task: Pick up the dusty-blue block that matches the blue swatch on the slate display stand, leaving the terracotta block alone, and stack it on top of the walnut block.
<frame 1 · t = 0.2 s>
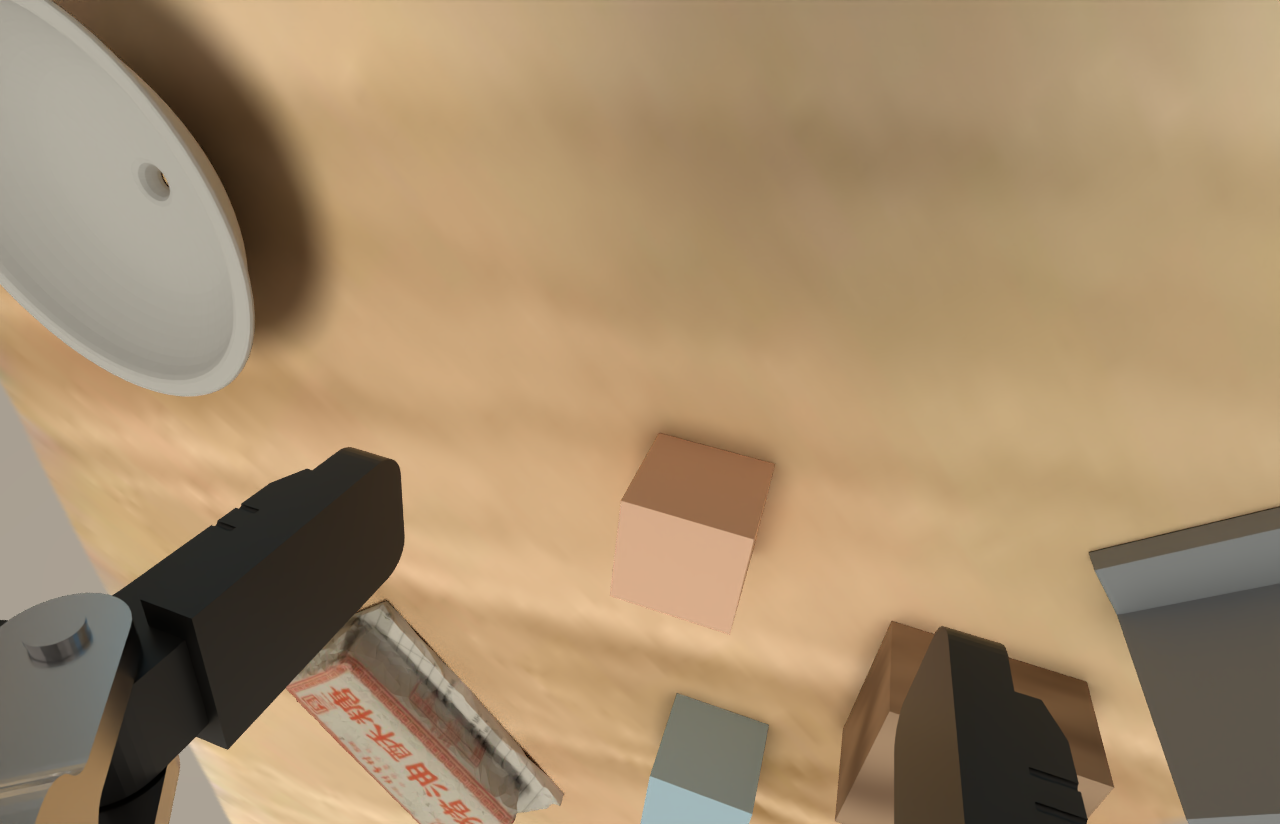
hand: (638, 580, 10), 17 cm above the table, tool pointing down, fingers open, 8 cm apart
terracotta block: (707, 493, 31), on the table
dish: (177, 176, 32), on the table
walnut block: (953, 704, 33), on the table
packaged product: (437, 707, 47), on the table
blue block: (715, 735, 39), on the table
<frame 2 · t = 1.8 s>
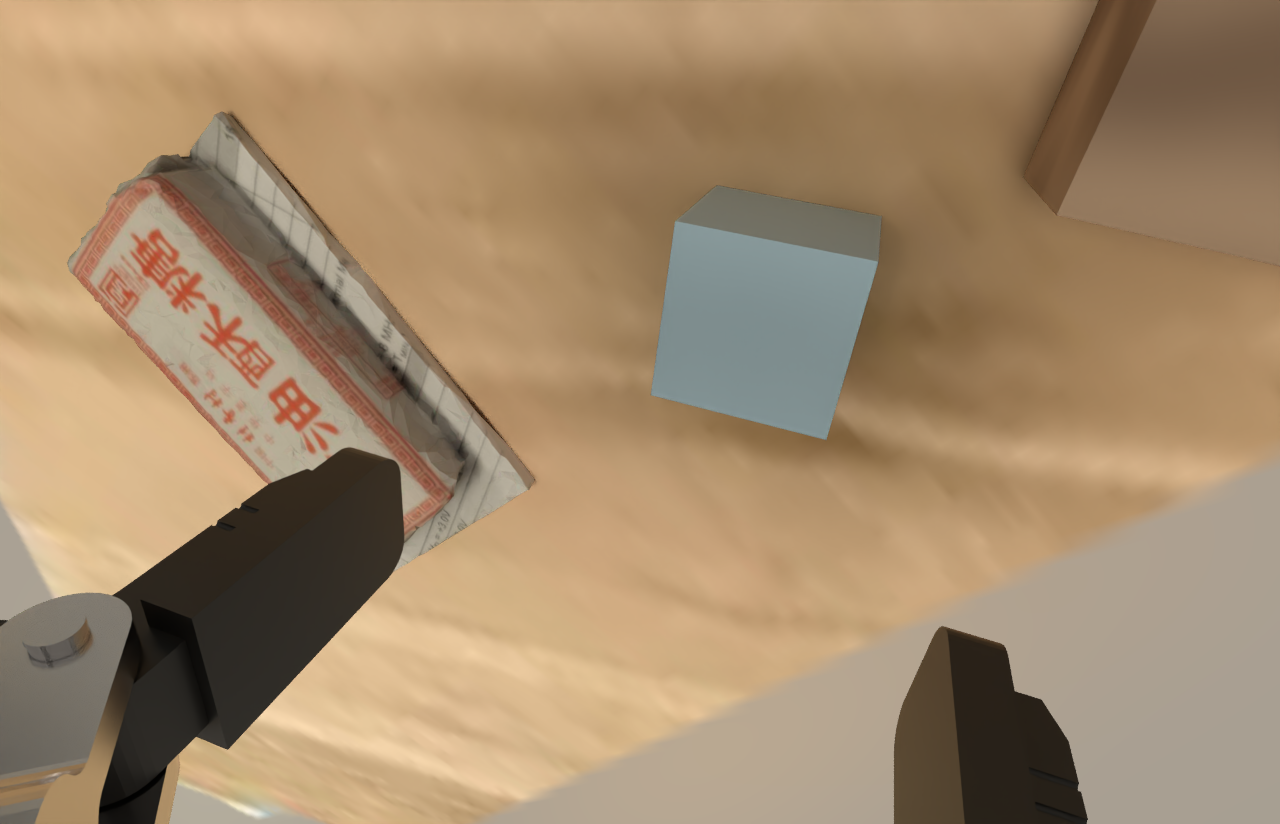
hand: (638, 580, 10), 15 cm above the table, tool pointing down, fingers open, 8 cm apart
walnut block: (1272, 42, 17), on the table
packaged product: (339, 361, 31), on the table
blue block: (779, 278, 23), on the table
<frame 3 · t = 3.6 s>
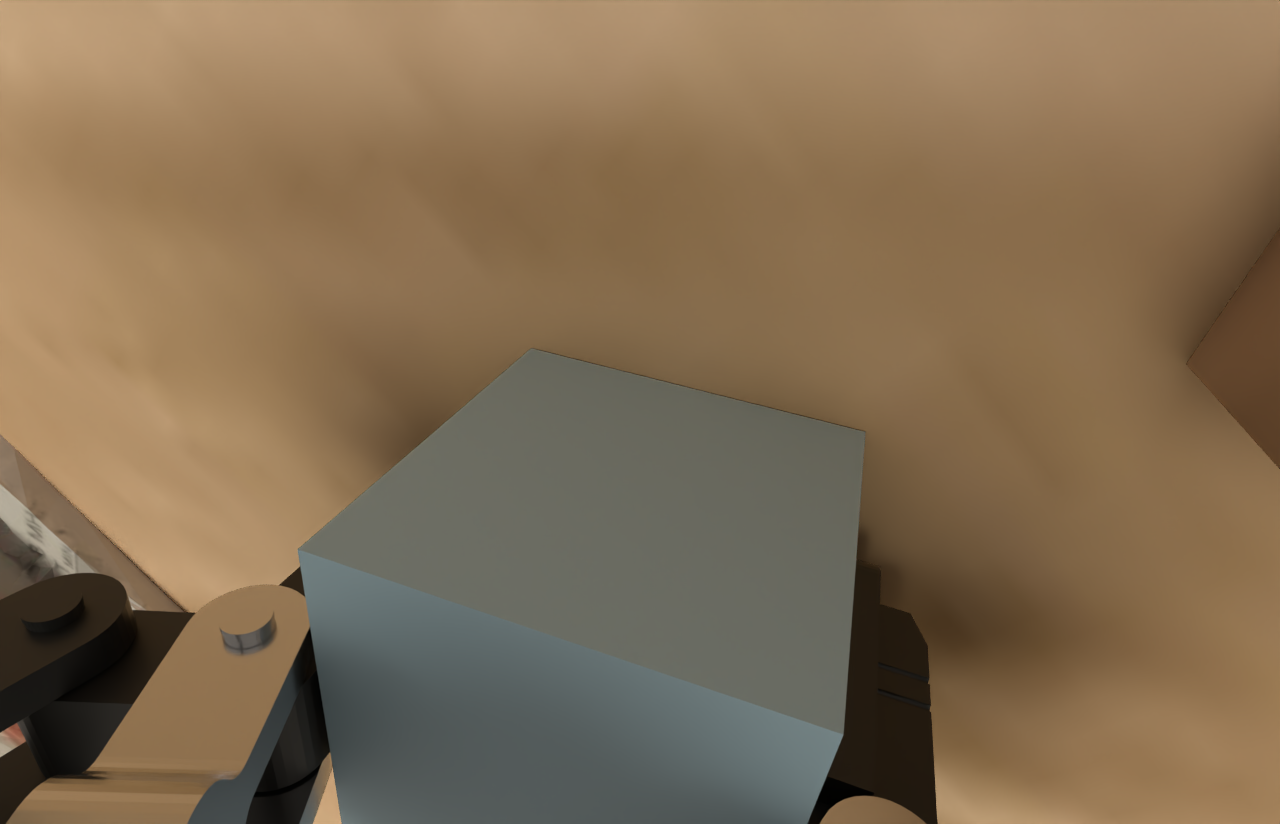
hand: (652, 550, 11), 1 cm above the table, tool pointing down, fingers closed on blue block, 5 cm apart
packaged product: (25, 549, 20), on the table
blue block: (666, 523, 11), on the table, touching gripper
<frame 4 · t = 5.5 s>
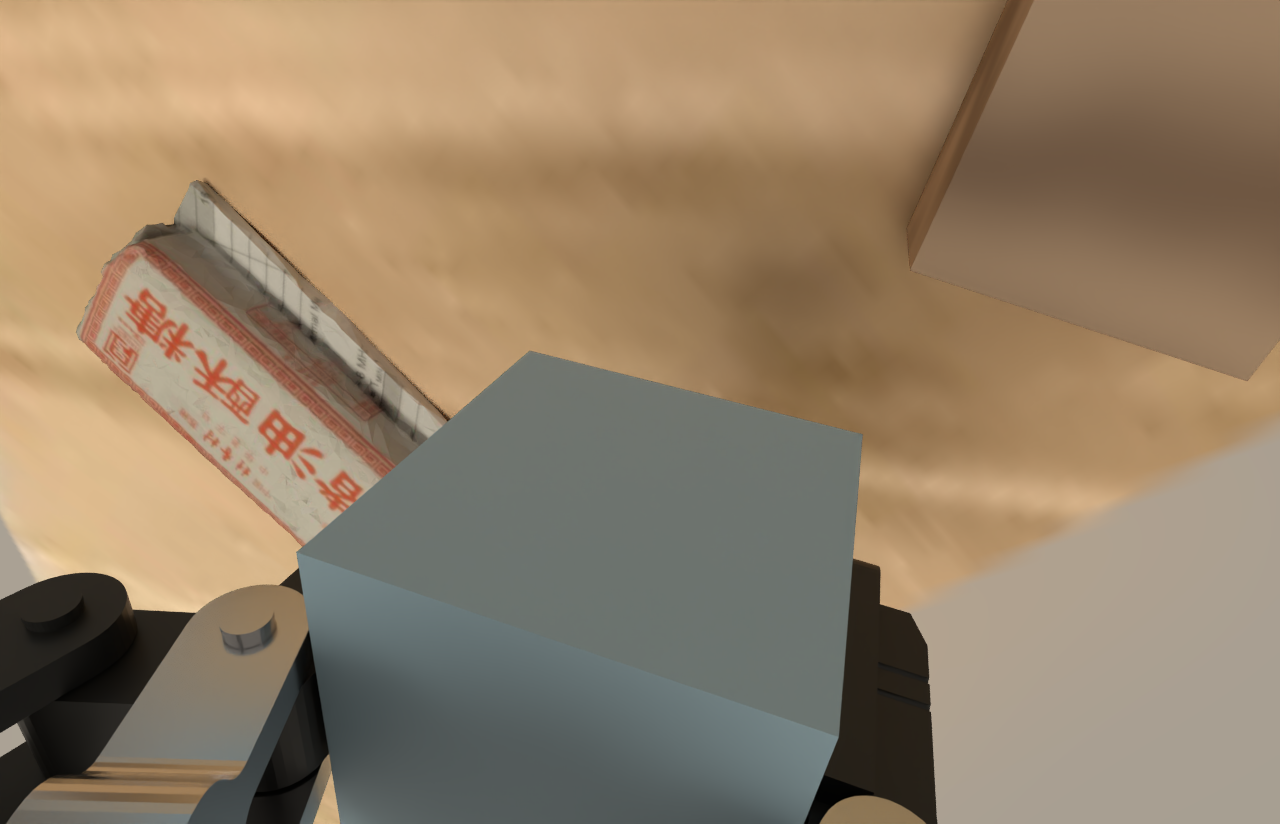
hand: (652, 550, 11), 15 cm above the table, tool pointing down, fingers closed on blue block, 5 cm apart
walnut block: (1112, 132, 19), on the table
packaged product: (327, 396, 33), on the table
blue block: (664, 525, 12), point 14 cm above the table, touching gripper
when the fingers open (7 cm above the table, at t = 7.7 s): blue block drops 2 cm, resting on walnut block.
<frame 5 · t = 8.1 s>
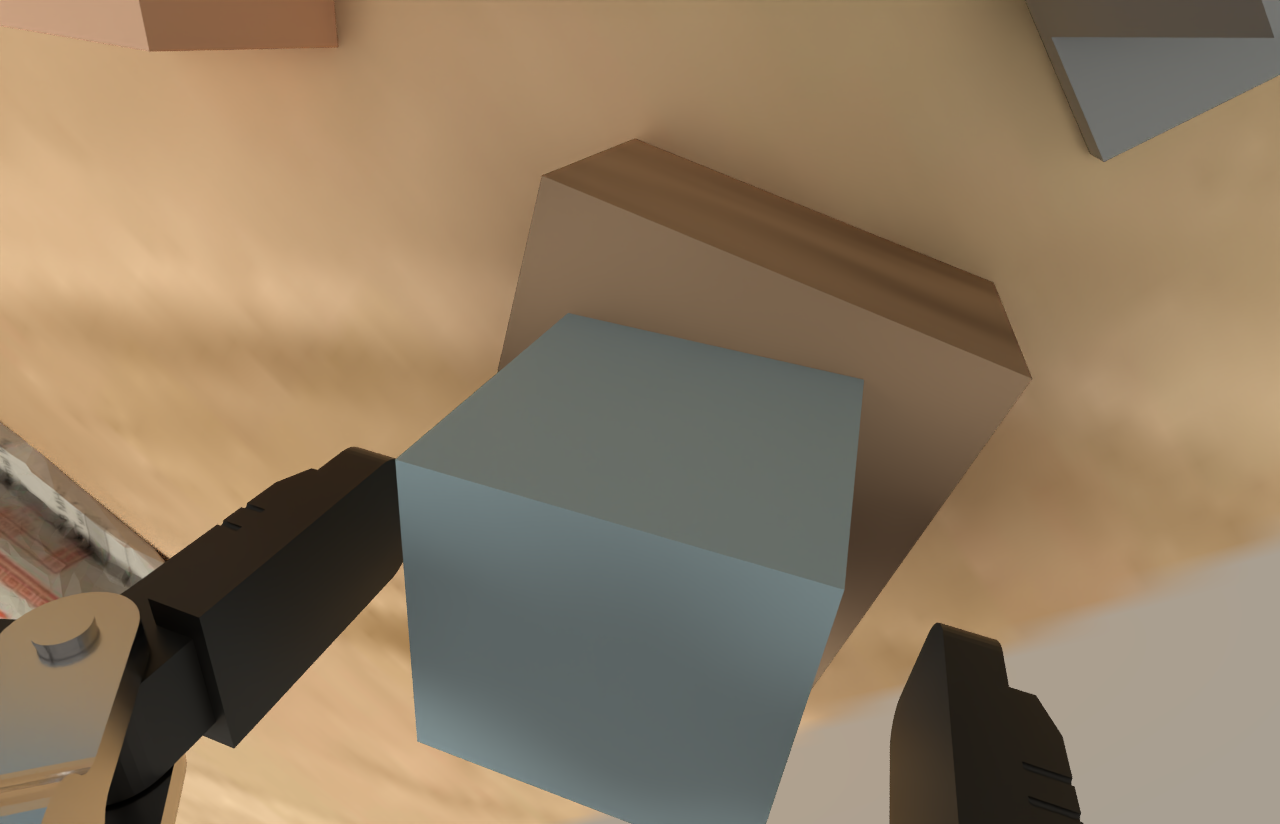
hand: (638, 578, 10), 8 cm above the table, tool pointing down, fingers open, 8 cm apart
walnut block: (740, 364, 17), on the table, touching blue block
packaged product: (63, 531, 31), on the table
blue block: (688, 470, 13), point 5 cm above the table, touching walnut block
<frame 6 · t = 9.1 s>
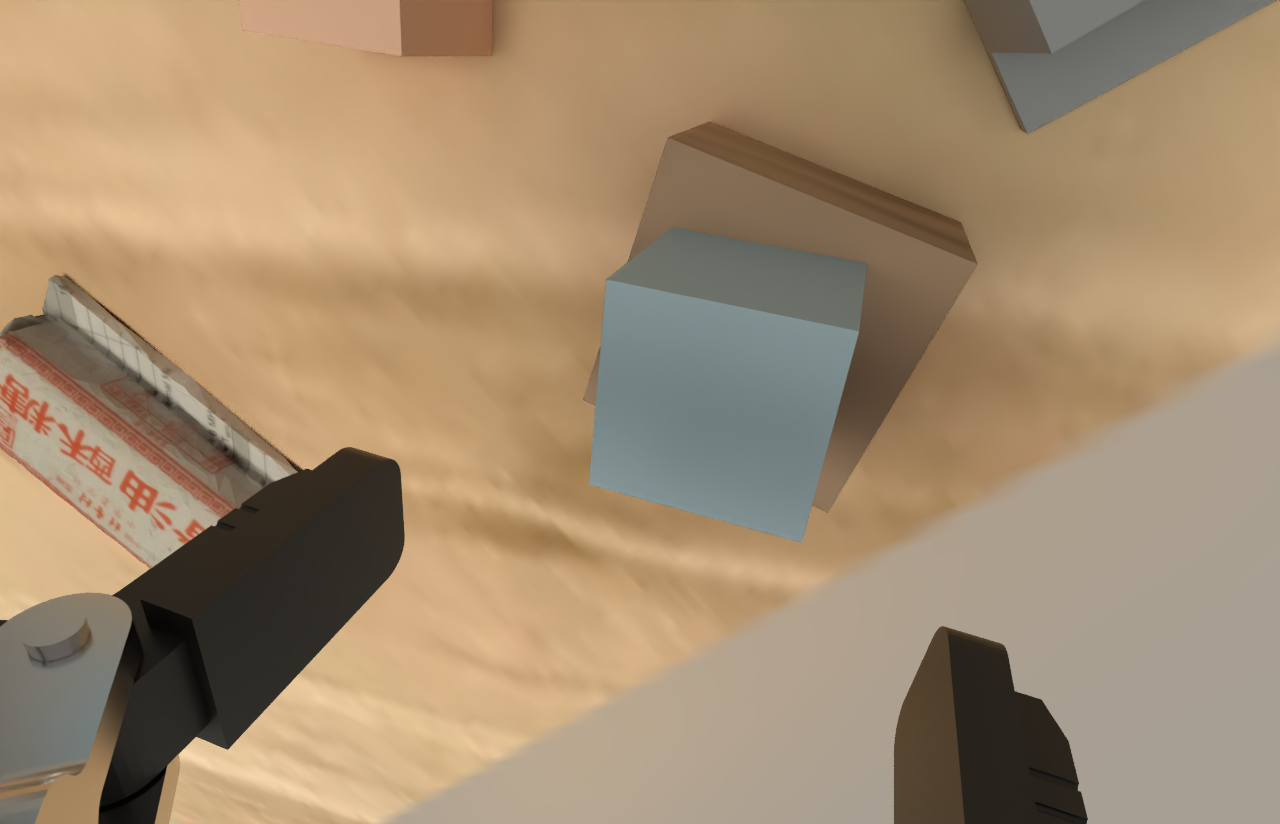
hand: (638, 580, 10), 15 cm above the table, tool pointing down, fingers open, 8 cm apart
walnut block: (779, 288, 23), on the table, touching blue block
packaged product: (201, 453, 37), on the table
blue block: (748, 335, 19), point 5 cm above the table, touching walnut block
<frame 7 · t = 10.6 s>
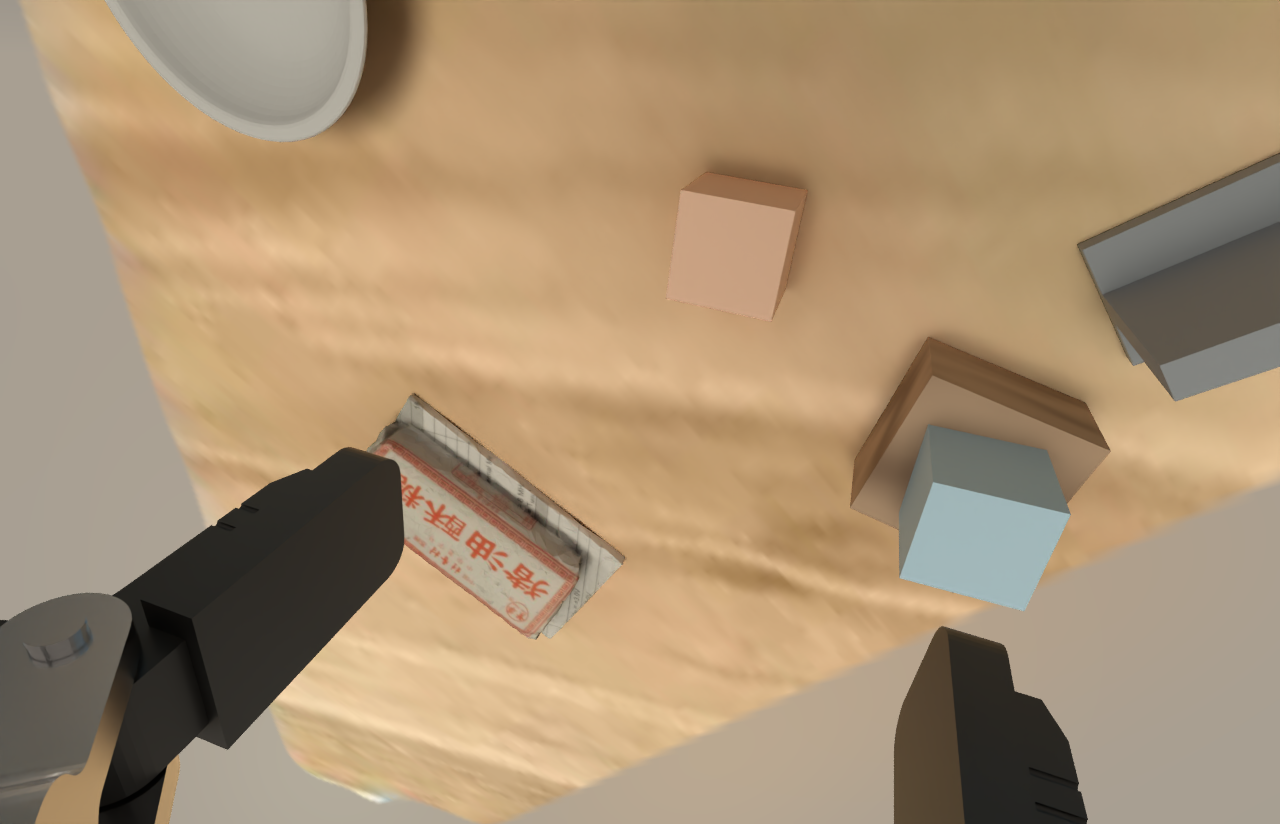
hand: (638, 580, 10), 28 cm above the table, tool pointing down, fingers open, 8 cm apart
terracotta block: (746, 231, 36), on the table
walnut block: (961, 431, 37), on the table, touching blue block
packaged product: (494, 512, 50), on the table
blue block: (968, 483, 33), point 5 cm above the table, touching walnut block
display stand: (1263, 236, 29), on the table
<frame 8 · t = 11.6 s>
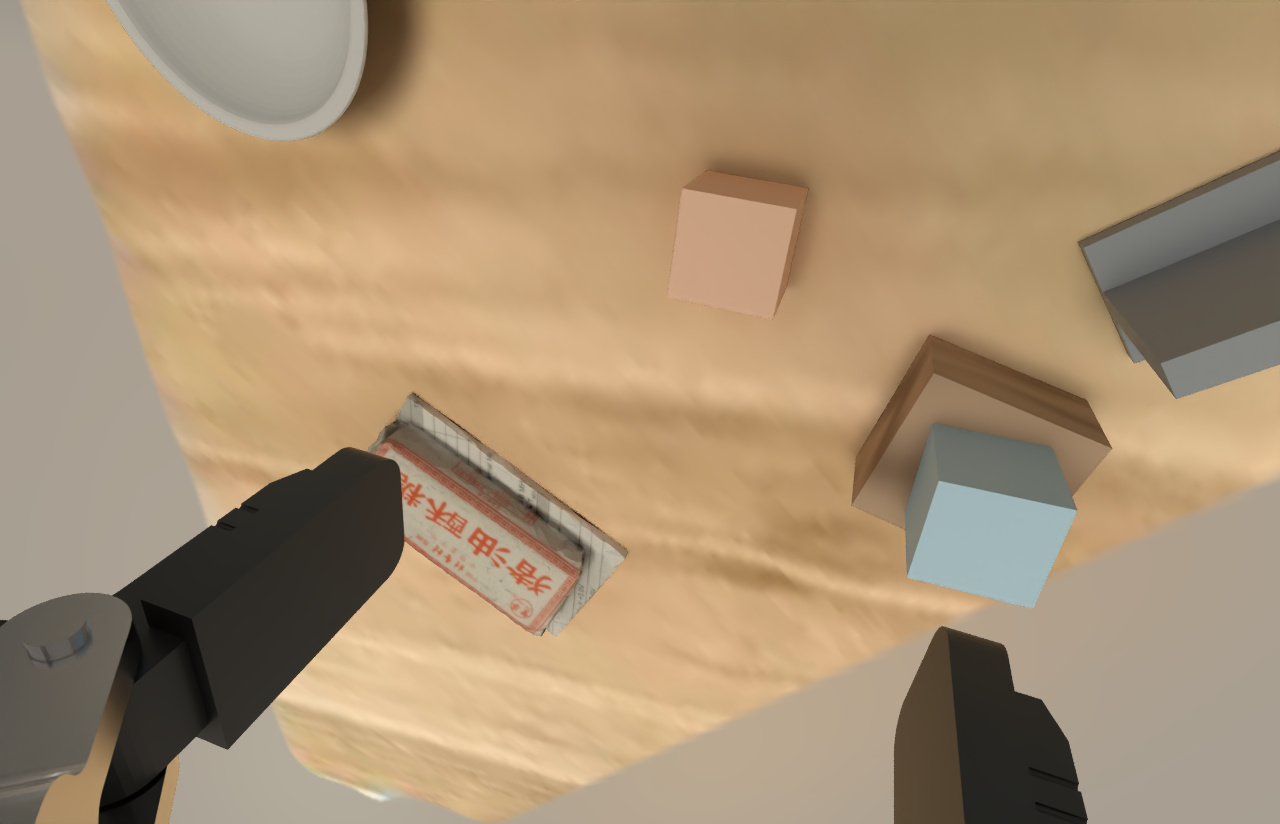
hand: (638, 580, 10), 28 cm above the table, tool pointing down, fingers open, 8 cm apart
terracotta block: (747, 229, 36), on the table
walnut block: (963, 429, 37), on the table, touching blue block
packaged product: (496, 510, 50), on the table
blue block: (974, 481, 33), point 5 cm above the table, touching walnut block
display stand: (1264, 233, 29), on the table
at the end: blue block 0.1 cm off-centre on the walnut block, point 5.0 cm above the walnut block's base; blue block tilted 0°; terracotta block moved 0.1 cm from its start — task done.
